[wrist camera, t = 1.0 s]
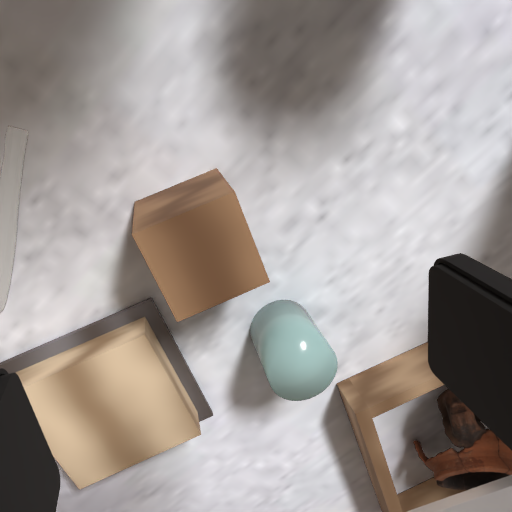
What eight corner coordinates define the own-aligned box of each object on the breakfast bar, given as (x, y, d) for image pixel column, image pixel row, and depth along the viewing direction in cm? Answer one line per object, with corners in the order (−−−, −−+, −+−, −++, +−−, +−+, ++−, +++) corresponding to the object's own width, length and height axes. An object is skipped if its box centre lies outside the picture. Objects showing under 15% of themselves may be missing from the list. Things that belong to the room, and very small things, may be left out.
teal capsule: (299, 290, 36) (326, 328, 31) (316, 338, 38) (345, 382, 33) (241, 315, 36) (258, 358, 30) (262, 363, 38) (281, 411, 32)
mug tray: (518, 300, 41) (554, 322, 38) (534, 437, 49) (565, 466, 45) (336, 383, 40) (355, 414, 37) (381, 510, 48) (401, 545, 44)
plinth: (151, 297, 33) (152, 317, 31) (212, 412, 38) (217, 437, 36) (-4, 364, 33) (-18, 390, 30) (78, 472, 38) (73, 503, 35)
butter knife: (-47, 312, 30) (1, 322, 31) (27, -149, 23) (87, -122, 24) (-43, 309, 31) (4, 318, 32) (31, -144, 24) (89, -118, 24)
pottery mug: (510, 400, 47) (541, 487, 42) (419, 417, 51) (436, 498, 45) (487, 350, 39) (521, 448, 34) (382, 374, 43) (397, 465, 38)
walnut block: (216, 168, 31) (234, 191, 25) (246, 243, 34) (269, 281, 27) (134, 201, 31) (131, 234, 24) (171, 275, 33) (177, 322, 27)
